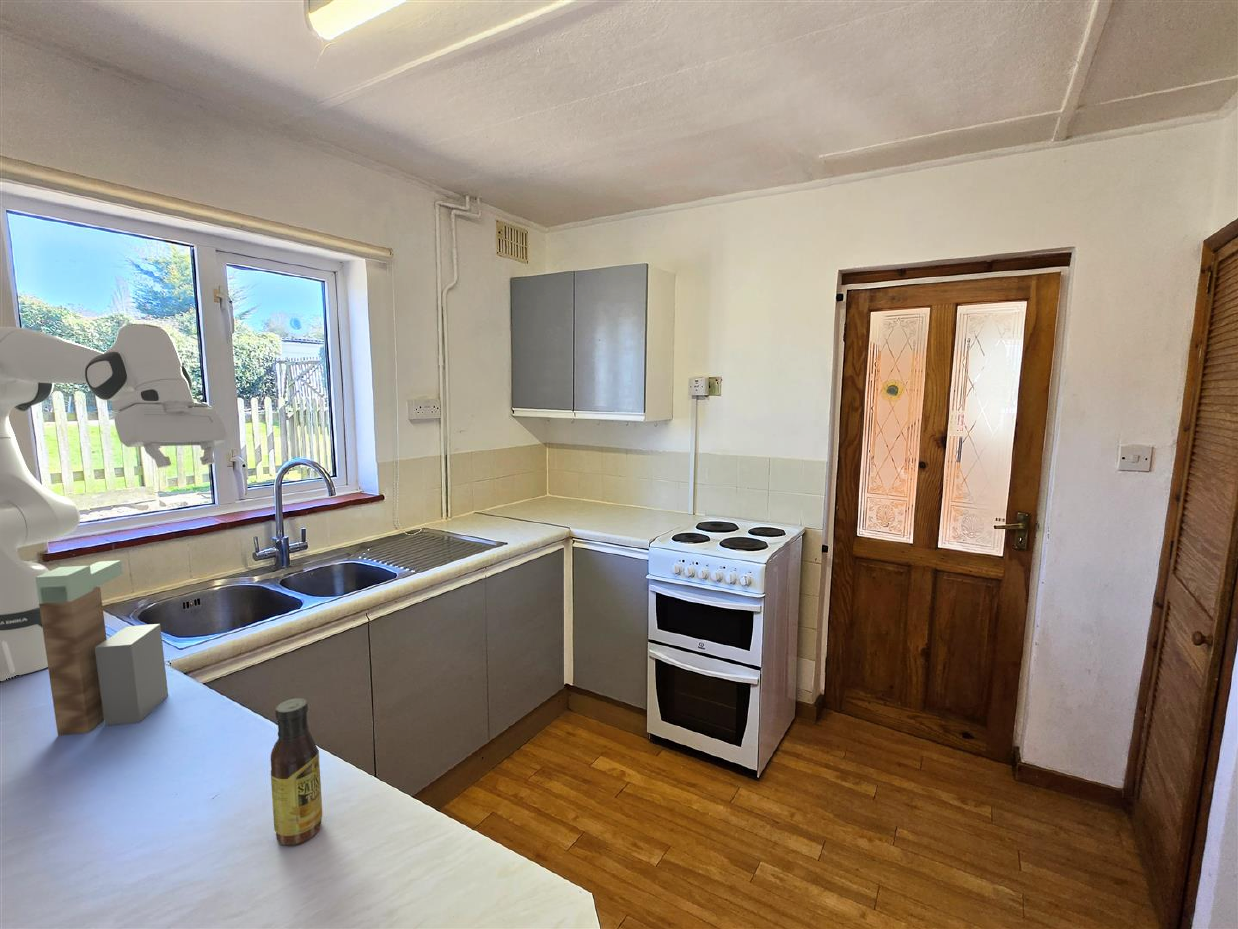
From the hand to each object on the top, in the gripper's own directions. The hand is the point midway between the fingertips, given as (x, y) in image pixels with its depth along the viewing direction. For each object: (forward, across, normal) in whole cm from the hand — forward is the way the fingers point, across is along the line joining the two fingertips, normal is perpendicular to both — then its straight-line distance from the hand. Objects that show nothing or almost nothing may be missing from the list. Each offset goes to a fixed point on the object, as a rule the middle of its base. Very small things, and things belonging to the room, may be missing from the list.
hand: (187, 465), depth 117 cm
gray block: (+44, +4, -26) cm, 51 cm away
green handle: (+17, +8, -24) cm, 30 cm away
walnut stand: (+42, +10, -31) cm, 53 cm away
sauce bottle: (+65, +25, +26) cm, 74 cm away
